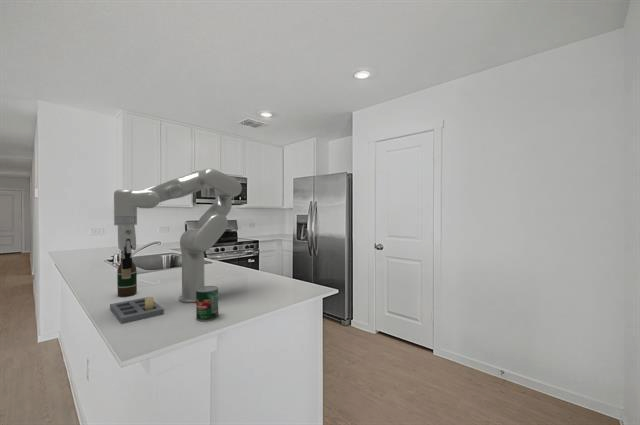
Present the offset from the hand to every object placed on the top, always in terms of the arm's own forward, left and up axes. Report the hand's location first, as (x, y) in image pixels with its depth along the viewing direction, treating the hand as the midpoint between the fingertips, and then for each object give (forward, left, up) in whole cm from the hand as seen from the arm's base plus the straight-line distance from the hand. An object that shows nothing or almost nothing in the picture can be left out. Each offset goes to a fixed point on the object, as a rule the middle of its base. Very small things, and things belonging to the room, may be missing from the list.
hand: (126, 267), depth 117 cm
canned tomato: (-33, +6, -18) cm, 38 cm away
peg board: (-2, -2, -18) cm, 18 cm away
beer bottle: (+15, -26, -18) cm, 35 cm away
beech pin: (0, 0, -4) cm, 4 cm away
